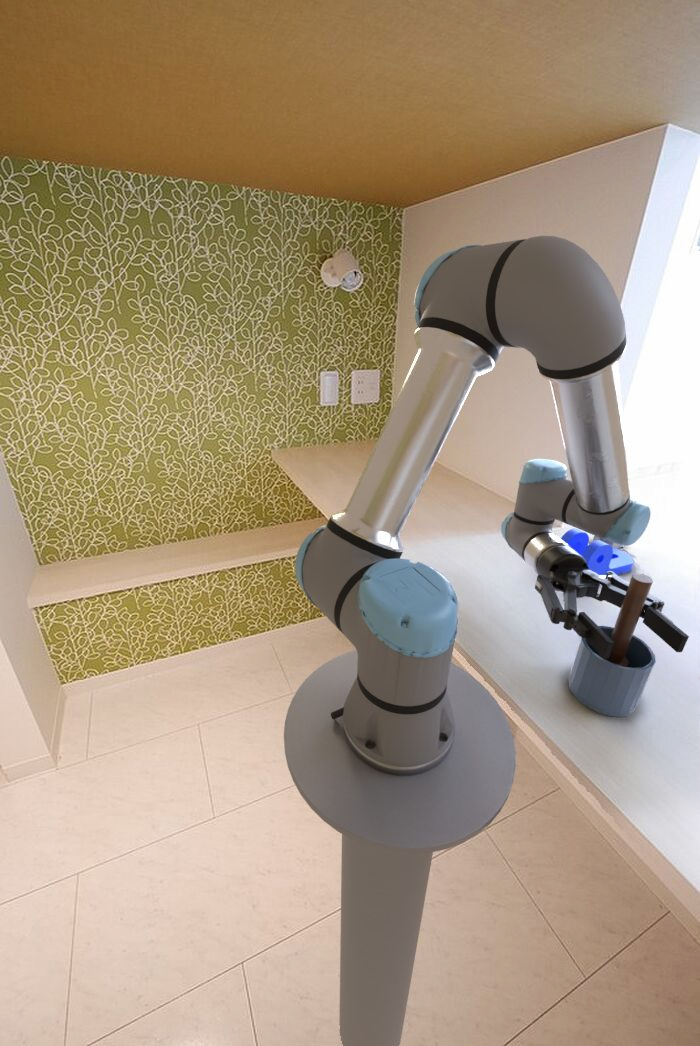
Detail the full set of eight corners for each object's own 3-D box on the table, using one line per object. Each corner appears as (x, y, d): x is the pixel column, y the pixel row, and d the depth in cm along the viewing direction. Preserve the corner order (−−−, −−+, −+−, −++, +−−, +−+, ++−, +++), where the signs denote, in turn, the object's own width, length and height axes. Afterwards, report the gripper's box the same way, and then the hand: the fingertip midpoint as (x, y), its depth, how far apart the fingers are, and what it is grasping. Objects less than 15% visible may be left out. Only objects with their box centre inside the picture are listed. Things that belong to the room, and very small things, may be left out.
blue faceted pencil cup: (591, 719, 62) (609, 672, 59) (556, 671, 71) (569, 627, 67) (651, 714, 64) (671, 667, 60) (609, 667, 72) (624, 623, 68)
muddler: (599, 698, 65) (639, 586, 56) (583, 679, 68) (620, 571, 60) (622, 696, 65) (666, 585, 57) (606, 677, 69) (645, 569, 60)
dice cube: (604, 538, 114) (609, 521, 112) (622, 546, 110) (628, 528, 108) (592, 542, 112) (597, 525, 110) (610, 550, 108) (616, 533, 106)
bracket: (582, 583, 95) (592, 547, 91) (553, 565, 101) (561, 530, 98) (639, 568, 101) (652, 534, 97) (608, 552, 108) (618, 519, 104)
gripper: (608, 577, 81) (711, 662, 61) (491, 583, 78) (560, 675, 58) (619, 541, 78) (732, 619, 58) (498, 547, 75) (573, 630, 55)
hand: (646, 647), depth 58 cm, fingers open, 10 cm apart
